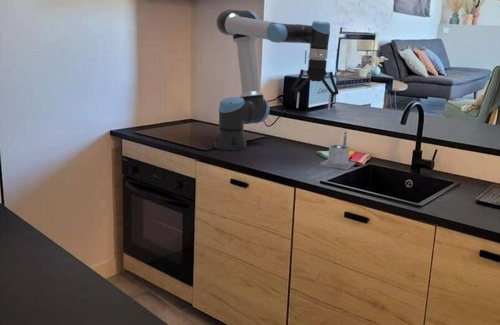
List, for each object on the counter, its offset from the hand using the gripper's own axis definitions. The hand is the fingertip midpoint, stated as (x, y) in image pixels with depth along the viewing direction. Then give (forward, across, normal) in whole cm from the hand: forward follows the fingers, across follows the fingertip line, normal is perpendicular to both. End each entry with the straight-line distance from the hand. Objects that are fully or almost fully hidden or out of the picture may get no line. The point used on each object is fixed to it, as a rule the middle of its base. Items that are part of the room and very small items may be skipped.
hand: (312, 108), depth 226 cm
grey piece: (+21, +13, -7) cm, 26 cm away
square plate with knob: (+22, +13, -6) cm, 26 cm away
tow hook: (+23, +16, +9) cm, 29 cm away
